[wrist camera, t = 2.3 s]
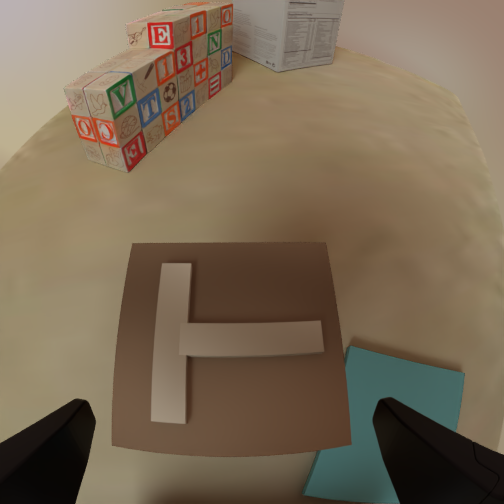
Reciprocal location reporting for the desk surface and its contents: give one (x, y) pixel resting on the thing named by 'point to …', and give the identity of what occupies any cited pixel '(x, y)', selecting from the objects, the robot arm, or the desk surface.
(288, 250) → the letter block
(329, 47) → the supplement box
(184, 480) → the desk surface
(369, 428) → the mat
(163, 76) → the stack of blocks
